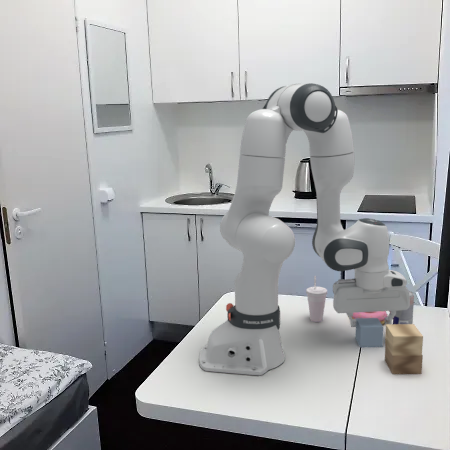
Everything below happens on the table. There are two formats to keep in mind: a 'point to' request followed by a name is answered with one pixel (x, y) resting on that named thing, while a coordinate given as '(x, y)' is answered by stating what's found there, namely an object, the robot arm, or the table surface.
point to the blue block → (369, 332)
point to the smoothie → (316, 302)
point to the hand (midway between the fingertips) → (370, 325)
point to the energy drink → (405, 313)
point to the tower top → (403, 340)
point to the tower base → (403, 363)
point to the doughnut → (371, 315)
